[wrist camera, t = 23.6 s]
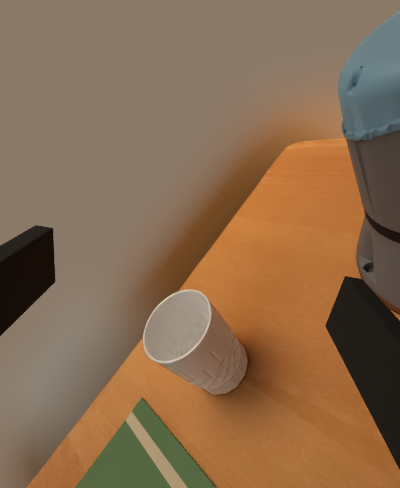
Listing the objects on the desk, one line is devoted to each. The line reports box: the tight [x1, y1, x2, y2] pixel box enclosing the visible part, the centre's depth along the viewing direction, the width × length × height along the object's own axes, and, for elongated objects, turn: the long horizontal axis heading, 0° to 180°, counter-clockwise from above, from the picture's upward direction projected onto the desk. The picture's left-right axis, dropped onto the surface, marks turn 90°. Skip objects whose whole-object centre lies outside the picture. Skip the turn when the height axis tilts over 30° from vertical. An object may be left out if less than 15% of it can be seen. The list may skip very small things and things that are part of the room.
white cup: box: [143, 289, 248, 395], centre depth 32 cm, size 8×8×10 cm
